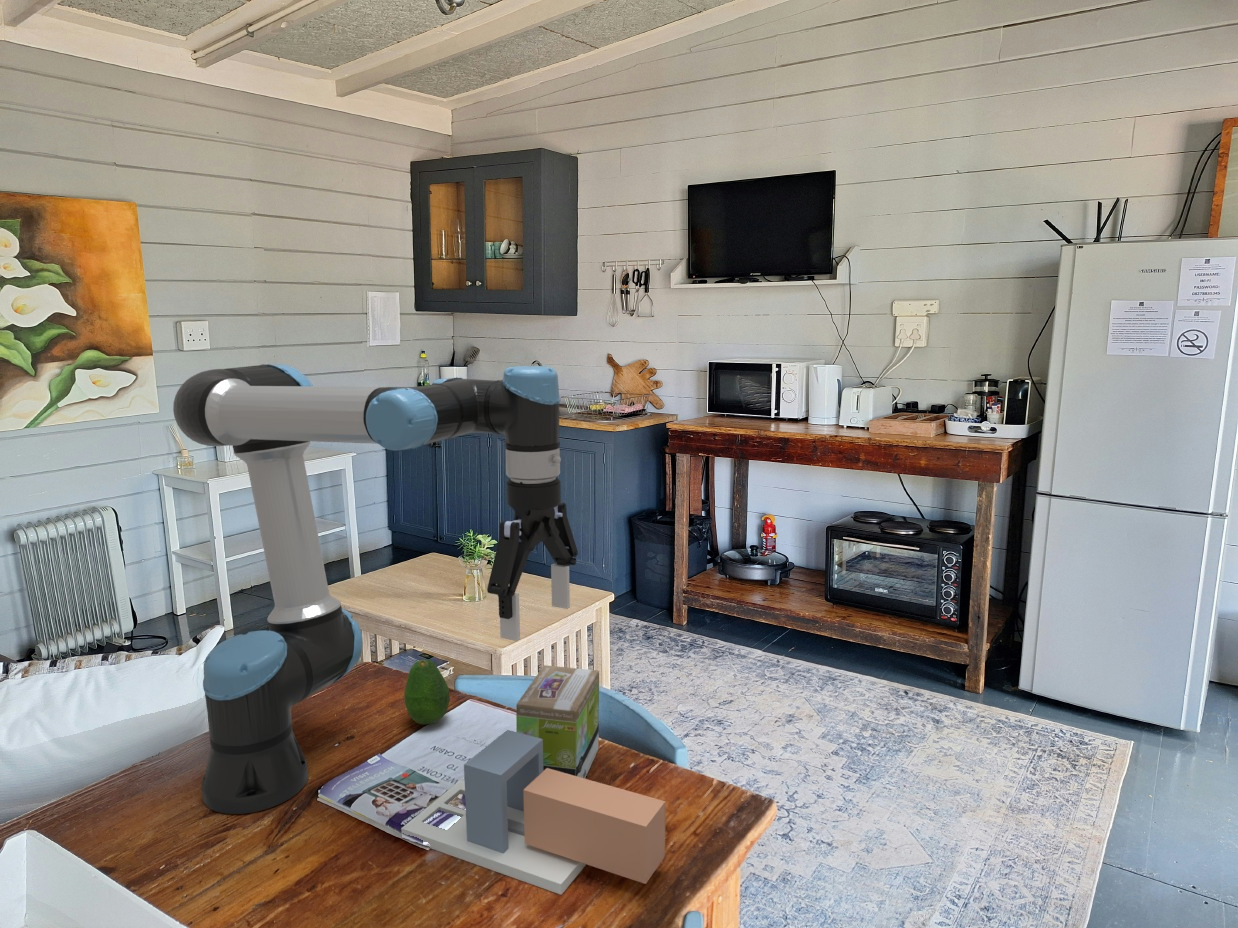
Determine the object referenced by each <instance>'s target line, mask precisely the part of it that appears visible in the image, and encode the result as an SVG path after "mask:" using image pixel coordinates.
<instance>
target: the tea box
mask: <svg viewBox="0 0 1238 928" xmlns="http://www.w3.org/2000/svg"><path fill="white" fill-rule="evenodd" d="M515 713H516V714H515V715H516V722H515V723H516V724H515V725H516V730H515V732H518V733H522V734H526V735H529V736H533V737H537V738H541V739H543V771H544V770H545V769H546V768H549V769H552V770H556V771H559V772H563V773H567V774H570V775H574V776H577V777H581V778H584V779H586V778H587V777H586V776H587V775H588V773H589V770H590V768H591V766H592V764H593V762H594V760H595V758H596V755H597V753H598V751H599V740H600V739H599V734H600V733H599V732H600V731H599V730H600V723H599V722H600V671H599V670H597V669H588V668H587V669H586V668H574V667H564V666H557V665H556V666H555V665H547V664H544V665H543V666H542V667H541V669H540V670H539V672H538V673H537V674H536V676H535V677H534V678H533V680H532V682H531V683H530V685H529V686H527V689H526V690H525V691H524V693H523V694H522V695H521V697H520V698H519V700H518V701H517V702H516V712H515Z"/></svg>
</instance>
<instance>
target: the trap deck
mask: <svg viewBox="0 0 1238 928" xmlns="http://www.w3.org/2000/svg"><path fill="white" fill-rule="evenodd" d="M463 771H464V772H463V773H464V775H463V776H464V777H463V778H461V779H460V780H459V781H458V782H456V783H455V784H454V785H452V787H450V788H448V790H447V791H445V792H444V793H443V794H441V795H440V796H439V797H438V798H436V799H435V800H434V801H433V802H432V803H430V804H429V805H428V806H427V807H426V808H424V809H423V810H422V811H420V812H419V813H418V814H417V815H416V816H415V817H413V818H412V819H411V820H410V821H408V822H407V823H405V825H404V826H402V827H401V828H400V830H401V834H402V833H404V834H406V835H410V836H414V837H417V838H419V839H421V840H423V841H424V842H428V843H429V844H430V845H431V846H430V848H429V849H432V850H434V851H437V852H440V853H442V854H446V855H448V856H452V857H454V858H456V859H460V860H463V861H466V862H468V863H471V864H473V865H477V866H480V867H481V868H485V869H488V870H490V871H493V872H496V873H499V874H502V875H504V876H508V877H509V878H513V879H515V880H519V881H520V882H521V881H522V882H524V883H527V884H530V885H532V886H535V887H538V888H541V889H544V890H546V891H550V892H553V893H554V894H555V893H556V894H558V895H560V896H561V895H563V894H564V892H565V891H566V890H567V889H568V888H569V886H570V885H571V884H572V883H573V881H574V880H575V879H576V878H577V876H578V875H579V874H580V873H581V872H582V871H583V869H584V868H585V867H586V865H587V864H584V863H581V862H578V861H575V860H572V859H569V858H566V857H563V856H560V855H557V854H554V853H551V852H548V851H545V850H542V849H539V848H536V847H533V846H530V845H527V844H525V834H524V796H523V790H524V789H525V788H526V787H527V786H528V785H529V784H530V783H531V782H532V781H533V780H534V779H536V778H537V777H538V776H539V775H540V774H541V773H542V772H543V739H541V738H537V737H533V736H529V735H526V734H522V733H518V732H516V731H513V730H510V729H506V730H505V731H504V732H503V733H502V734H500V735H499V736H498V737H496V738H495V739H494V740H492V742H490V743H489V744H488V745H486V746H485V747H484V748H482V749H481V750H480V751H479V752H478V753H476V754H475V755H474V756H472V757H471V758H470V759H469V760H467V761H466V762H465V763H464V764H463ZM459 794H464V795H465V803H466V810H463V809H460V808H457V807H454V806H451V805H448V803H449V802H450V801H452V800H453V799H454V798H455V797H457V796H458V795H459ZM438 810H441V811H444V812H447V813H450V814H453V815H457V816H460V817H461V818H460V819H459V820H458V821H457V822H456V823H454V824H453V825H452V826H451V827H450V828H449V829H448V830H445V829H442V828H439V827H436V826H433V825H430V824H427V823H424V821H426V820H427V819H428V818H430V817H431V816H432V815H434V814H435V813H436V812H437V811H438Z"/></svg>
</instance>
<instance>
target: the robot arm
mask: <svg viewBox="0 0 1238 928" xmlns="http://www.w3.org/2000/svg"><path fill="white" fill-rule="evenodd" d="M502 377H503V378H502V379H498V380H495V379H494V380H493V379H491V380H490V379H477V378H476V379H473V378H472V379H471V378H463V377H458V376H457V377H449V378H439V379H436V380H434V381H433V382H432V384H428V385H420V386H386V387H384V386H379V387H378V386H372V387H371V386H314V385H313V384H312V382H311V381H310V380H309V378H308V377H307V376H306V375H305V374H303V373H302V372H300V370H298V368H297V369H296V368H295V367H292V366H290V365H287V364H270V363H268V364H264V363H262V364H260V365H259V364H258V365H248V366H247V365H246V366H240V367H230V368H229V367H228V368H215V369H208V370H203V371H201V372H198V373H196V374H194V375H193V376H190V377H189V378H188V379H186V380H185V381H184V382H183V383H182V384H181V385H180V387H179V389H178V390H177V392H176V394H175V396H174V400H173V407H172V410H173V411H172V412H173V415H174V416H173V418H174V419H175V422H176V425H177V426H178V428H179V430H180V431H181V432H182V433H183V434H184V435H185V436H186V437H187V438H188V439H190V440H191V441H192V442H195V443H198V444H200V445H204V446H207V447H226V446H232V450H233V454H234V456H235V457H237V458H238V459H239V460H241V461H243V462H244V463H245V464H246V467H247V472H248V476H249V482H250V486H251V492H252V497H253V502H254V506H255V512H256V516H257V522H258V527H259V533H260V537H261V542H262V547H263V553H264V557H265V562H266V567H267V572H268V577H269V582H270V587H271V592H272V597H273V598H272V599H273V601H274V607H273V609H272V611H271V612H270V613H269V615H268V617H267V619H266V620H267V624H268V625H267V626H268V629H269V630H266V629H265V630H263V629H262V630H253V631H248V632H247V633H245V634H242V633H241V634H237V635H234V636H232V637H230V638H227V639H226V640H224V641H222V642H220V643H218V644H217V645H216V646H215V647H213V648H212V649H211V650H210V651H209V653H208V654H207V655H206V657H205V659H204V662H203V680H202V689H203V692H204V698H205V704H206V705H205V706H206V713H207V724H208V734H209V742H210V743H209V744H210V751H209V754H208V760H207V765H206V769H205V773H204V775H203V778H202V781H201V794H202V801H203V804H204V806H206V807H207V808H208V809H210V810H211V811H214V812H216V813H220V814H226V815H230V814H231V815H240V814H241V815H243V814H250V813H251V814H252V813H257V812H260V811H264V810H268V809H270V808H273V807H276V806H278V805H281V804H283V803H284V802H286V801H288V800H290V799H292V798H294V796H296V795H297V794H298V793H299V792H301V791H302V789H303V788H305V786H306V785H307V782H308V778H309V769H308V762H307V759H306V757H305V755H304V752H303V750H302V748H301V746H300V744H299V742H298V740H297V737H296V736H295V733H294V731H293V722H292V719H293V718H292V707H293V706H296V705H297V704H298V703H300V702H302V701H304V700H305V699H307V698H309V697H310V696H312V695H314V694H316V693H317V692H320V691H321V690H324V689H325V688H326V687H328V686H331V685H333V684H335V683H337V682H339V681H340V680H341V679H342V678H343V677H344V676H345V675H347V674H348V673H350V672H351V671H352V670H353V669H354V668H355V667H356V665H357V664H358V662H359V660H360V659H361V656H362V652H363V645H364V642H363V641H364V638H363V633H362V630H361V627H360V625H359V622H358V621H357V619H353V615H352V613H350V612H349V611H348V610H347V609H344V608H342V603H341V600H339V599H337V598H336V597H334V596H333V595H331V594H330V590H329V584H328V580H327V576H326V575H327V573H326V571H325V570H326V568H325V565H324V560H323V559H324V558H323V553H322V547H321V544H320V538H319V533H318V528H317V527H318V526H317V521H316V517H315V512H314V505H313V501H312V496H311V491H310V485H309V480H308V475H307V470H306V464H305V459H304V454H305V451H306V450H307V449H308V447H309V446H310V445H311V442H317V443H322V442H323V443H345V444H346V443H347V444H348V443H349V444H350V443H351V444H375V445H376V444H377V445H378V446H379V445H380V446H381V447H382V448H384V449H386V450H389V451H401V450H402V451H403V450H414V449H418V448H419V447H423V446H424V445H428V444H432V443H436V442H438V441H443V440H447V439H452V438H456V437H459V436H464V435H467V434H474V433H475V434H477V433H478V434H479V433H480V434H497V435H504V439H505V475H506V477H508V478H509V479H508V480H507V481H506V503H507V505H508V506H509V507H510V508H511V509H513V511H514V517H513V520H512V521H511V520H501V521H500V522H499V538H498V541H497V546H496V549H495V554H494V558H493V564H492V566H491V571H490V576H489V580H488V583H487V588H486V591H487V594H493V595H497V597H498V617H499V627H500V632H499V633H500V639H505V640H508V641H509V640H510V641H513V642H518V641H519V640H521V626H520V624H521V621H520V620H521V619H520V618H521V617H520V594H519V593H516V591H517V588H518V586H519V584H520V583H519V582H520V580H521V577H522V574H523V572H524V569H525V566H526V563H527V560H528V558H529V555H530V553H532V552H533V551H534V550H535V548H536V546H537V545H539V544H540V543H541V542H542V544H543V545H544V547H545V548H546V550H547V552H548V553H549V555H550V557H551V558H552V560H553V561H554V563H552V564H551V565H550V573H551V575H550V577H551V579H550V580H551V584H550V585H551V607H554V608H561V609H564V610H565V609H566V610H568V609H569V608H570V607H571V606H570V605H571V604H570V603H571V602H570V601H571V600H570V599H571V598H570V597H571V595H570V589H571V588H570V566H576V564H577V557H578V554H579V553H578V547H577V544H576V541H575V538H574V535H573V532H572V529H571V525H570V521H569V518H568V511H567V504H566V503H565V502H562V496H561V495H562V491H561V488H562V485H561V483H562V482H561V480H560V478H558V476H559V475H560V474H561V462H562V458H561V456H560V455H561V452H560V445H561V444H560V443H561V442H560V403H561V397H560V390H559V389H560V387H559V376H558V372H557V371H556V370H555V369H554V368H553V367H551V366H543V365H517V366H510V367H507V368H505V370H504V371H503V376H502Z"/></svg>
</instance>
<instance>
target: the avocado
mask: <svg viewBox="0 0 1238 928" xmlns="http://www.w3.org/2000/svg"><path fill="white" fill-rule="evenodd" d="M407 676H408V677H407V680H406V684H405V689H404V693H403V695H404V696H403V697H404V705H405V707H406V710H407V713H408V714H409V717H410V718H411V719H412V720H413V721H414V722H416V723H417V724H420V725H422V726H423V725H430V724H433V723H434V724H435V723H436V722H438V721H439V720H441V718H443V717H444V715H445V714H446V713H447V710H448V709H449V704H450V700H451V697H450V688H449V686H448V683H447V681H446V679H445V678H444V676H443V675H442V673H441V671H440V669H439V668H438V666H437V665H436V663H434V661H432V660H431V659H419V660H417V661H415V663H414V664H413V665H411V668H410V669H409V672H408V675H407Z"/></svg>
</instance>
